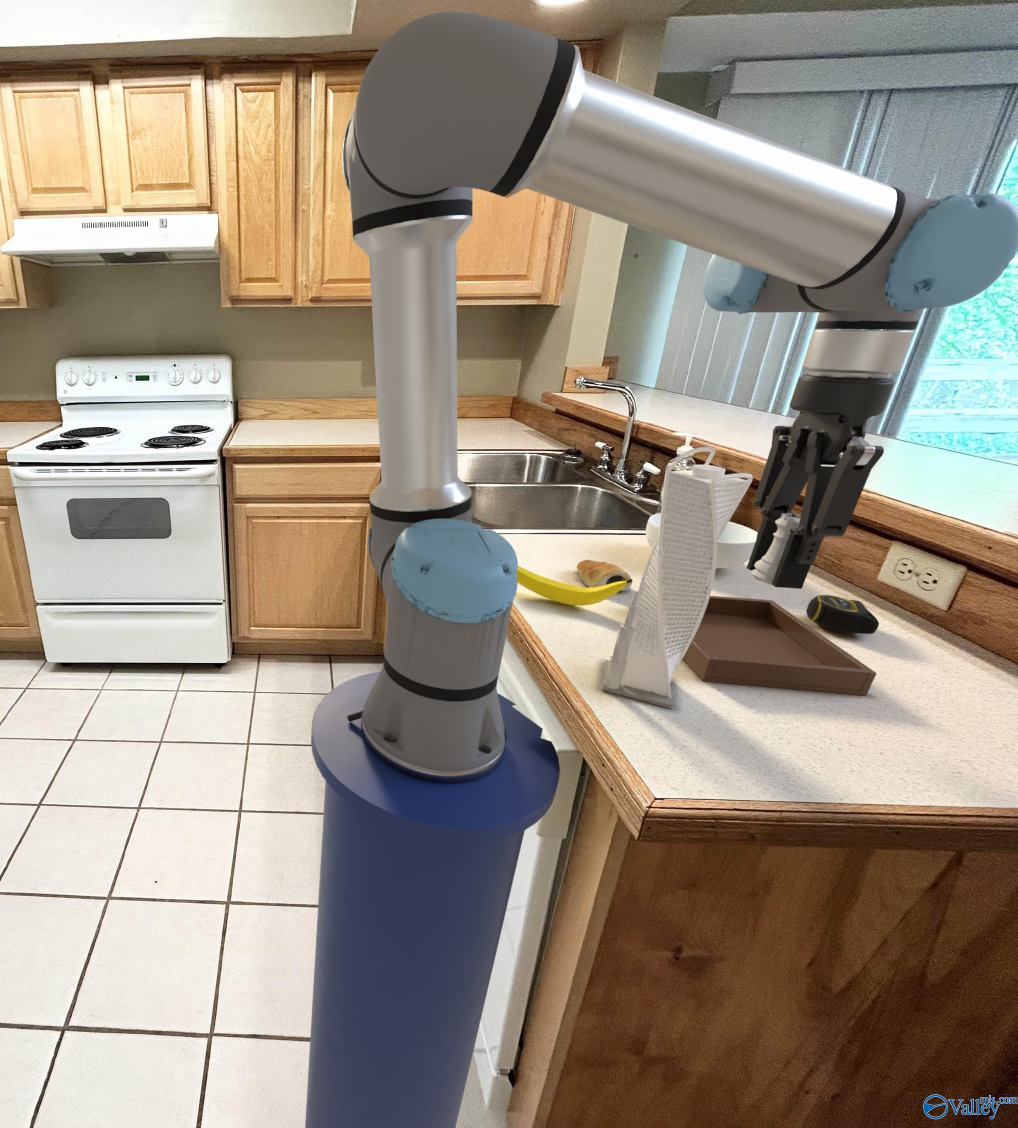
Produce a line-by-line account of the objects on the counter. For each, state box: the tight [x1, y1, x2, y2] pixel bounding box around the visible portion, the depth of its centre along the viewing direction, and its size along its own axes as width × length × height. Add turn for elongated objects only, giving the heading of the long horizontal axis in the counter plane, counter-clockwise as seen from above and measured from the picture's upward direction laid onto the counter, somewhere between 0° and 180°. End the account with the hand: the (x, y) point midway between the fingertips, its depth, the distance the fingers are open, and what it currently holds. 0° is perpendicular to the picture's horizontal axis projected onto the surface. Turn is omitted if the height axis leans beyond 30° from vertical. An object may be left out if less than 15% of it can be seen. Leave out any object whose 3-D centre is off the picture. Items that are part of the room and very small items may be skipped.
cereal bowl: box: [645, 512, 758, 570], centre depth 106 cm, size 17×17×7 cm
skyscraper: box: [601, 446, 754, 709], centre depth 66 cm, size 8×8×28 cm
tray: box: [682, 595, 877, 696], centre depth 79 cm, size 18×20×3 cm
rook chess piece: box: [750, 513, 801, 586], centre depth 69 cm, size 4×4×8 cm
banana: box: [517, 565, 633, 607], centre depth 91 cm, size 3×19×6 cm, turn 52°
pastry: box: [576, 559, 633, 592], centre depth 98 cm, size 9×7×4 cm
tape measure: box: [806, 594, 880, 635], centre depth 84 cm, size 7×7×4 cm
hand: (773, 577), depth 71 cm, fingers closed on rook chess piece, 4 cm apart
